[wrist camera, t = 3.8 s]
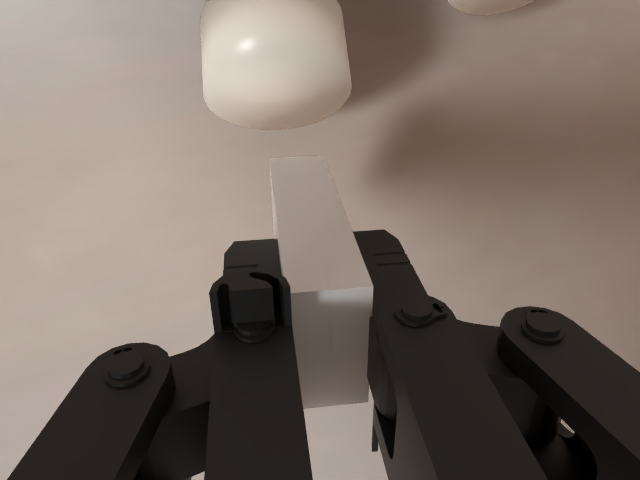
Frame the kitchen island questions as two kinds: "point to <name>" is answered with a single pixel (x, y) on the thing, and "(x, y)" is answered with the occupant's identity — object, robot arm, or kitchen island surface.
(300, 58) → the knob
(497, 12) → the knob
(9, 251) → the kitchen island surface
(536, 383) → the robot arm
